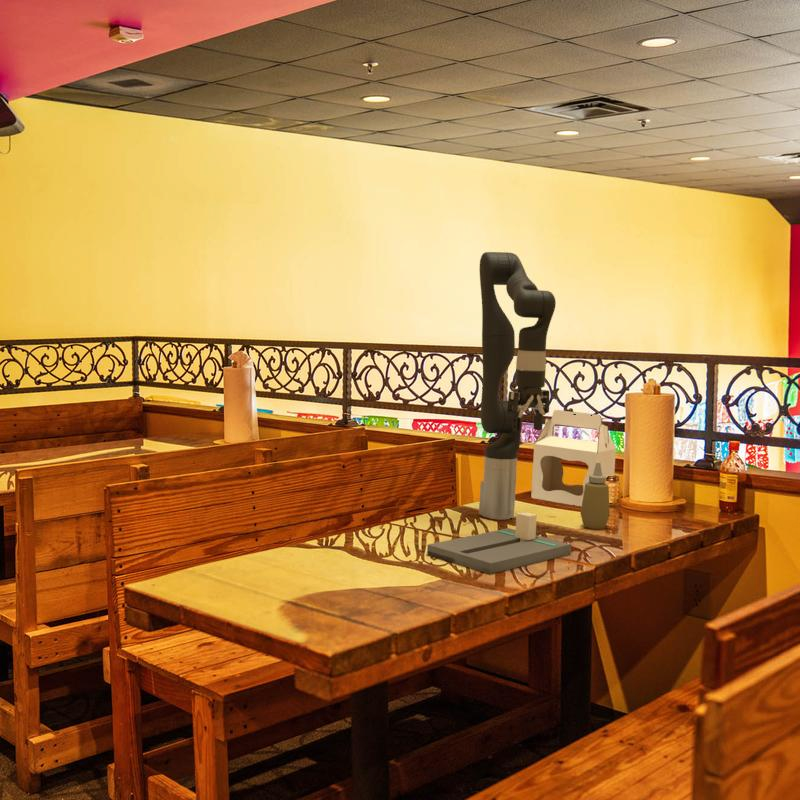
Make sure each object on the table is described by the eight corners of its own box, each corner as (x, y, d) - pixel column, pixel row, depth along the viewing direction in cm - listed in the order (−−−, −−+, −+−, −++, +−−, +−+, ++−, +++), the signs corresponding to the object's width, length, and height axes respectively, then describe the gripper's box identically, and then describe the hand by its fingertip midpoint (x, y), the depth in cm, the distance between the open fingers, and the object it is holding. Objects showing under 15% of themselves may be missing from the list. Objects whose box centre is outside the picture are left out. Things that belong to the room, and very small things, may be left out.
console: (427, 554, 232) (427, 543, 232) (507, 537, 253) (508, 527, 253) (490, 574, 218) (491, 562, 218) (570, 554, 239) (571, 543, 239)
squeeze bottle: (611, 531, 266) (615, 466, 264) (582, 529, 266) (586, 464, 264) (606, 524, 274) (610, 461, 272) (577, 523, 274) (581, 460, 272)
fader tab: (514, 542, 242) (516, 513, 242) (522, 540, 245) (524, 511, 244) (527, 545, 240) (529, 516, 239) (535, 544, 242) (536, 514, 241)
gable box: (613, 503, 304) (619, 414, 301) (594, 509, 294) (600, 417, 291) (550, 492, 317) (555, 407, 315) (530, 498, 307) (535, 410, 304)
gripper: (536, 366, 257) (533, 427, 259) (501, 367, 247) (498, 430, 249) (559, 369, 252) (555, 431, 253) (524, 370, 242) (521, 434, 243)
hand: (527, 430), depth 251 cm, fingers open, 8 cm apart
